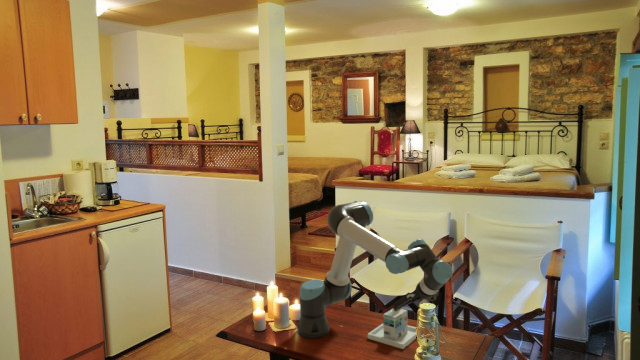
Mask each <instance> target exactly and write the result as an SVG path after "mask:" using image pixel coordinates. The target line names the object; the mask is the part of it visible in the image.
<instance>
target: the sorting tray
mask: <svg viewBox="0 0 640 360" xmlns="http://www.w3.org/2000/svg"><path fill="white" fill-rule="evenodd" d="M416 328H417V326H412V325H408V332H407V333H406V334H404V335H403V336H401V337H400V338H398V339H397V340H393V339H390V338H387V337H384V329H383V323H381V324H380V325H378V326H377V327H375V328H374V329H372V330H371V331H370V332H368V333H367V340H368V339H369V340H372V341H375V342H378V343H381V344H385V345H388V346H392V347H394V348H398V349H400V350H404V349H405V348H407V347H408V346H409V345H410V344H412V343H413V342H414V341H415V340H416V339H417V338H416ZM406 346H407V347H406Z"/></svg>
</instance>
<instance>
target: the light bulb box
mask: <svg viewBox="0 0 640 360" xmlns="http://www.w3.org/2000/svg"><path fill="white" fill-rule="evenodd" d="M392 309H393V308H391V309H390V310H388V311H386V312H384V313H382V315H383V318H382V319H383V320H382V321H383V323H382V324H383V329H384V337H387V338H390V339H393V340H397V339H398V338H400V337H401V336H403V335H404V334H406V333H407V332H408V324H409V322H408V310H407V309H404V308H402V309H401V310H400V311H399V313H398V314H397V315H395V316H394V313H393V311H392Z"/></svg>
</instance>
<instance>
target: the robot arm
mask: <svg viewBox="0 0 640 360" xmlns="http://www.w3.org/2000/svg"><path fill="white" fill-rule="evenodd" d="M326 220H327V226H328V228H329V229H330V230H331V231H332V232H333V234H335V236H338V237H339V239H338V241H337V245H336V248H335V253H334V257H333V260H332V263H331V267H330V270H329V271H327V272H326V274H325V277H324V280H321V279H310V280H306V281H305V282H303V283H302V284H301V285H300V286H299V293H298V294H299V306H300V307H299V311H300V317H299V320H298V324H297V326H296V327H297V328H296V329H297V332H296V333H297V334H298V335H299V336H300V337H302V338H306V339H318V338H323V337H325V336H327V335H328V334H329V333H330V323H329V322H328V319H327V316H326V307H328V306H331V305H334V304H337V303H339V302H343V301H345V300H346V299H348V298H349V297H350V295H351V293H352V290H353V286H352V282H351V280H350V277H349V273H350V268H351V267H352V262H353V259H354V255H355V252H356V249H357V246H358V247H360V248H362V249H363V250H365V252H368V253H369V254H370V255H373V256H374V257H376V258H377V259H379V260H381V261H382V262H383V263H384V264H385V268H386V269H387V270H388V272H389V273H391V274H393V275H398V274H402V273H403V274H404V273H405V272H407V271H410V270H413V269H416V268H420V269H421V270H422V272H423V273H424V274H425V275H424V276H423V277H422V279H420V281H419V282H418V283H417V284H416V286H415V290H414V292H412V293H411V292H407V293H406V294H405V295H403V296H402V297H401V298H399V299H397V300H395V302H393V303H392V306H393V308H391V309H392V311H393V313H394V316H395V315H397V314H398V313H399V311H400V310H401V309H403V308H404V307H406V306H407V305H410V304H412V303H416V302H418V301H420V302H419V304H418V305H419V306H420V304H423V303H429V304H430V303H431V304H433V301H437V295H438V291H439V290H440V289H441V288H442V287H443V286H444V285H445V284H446V283H448V282H449V280H450V279H451V277H452V276H453V268H452V266H451V264H450V263H448V262H446V261H445V260H439V258H438V257H437V255H436V254H435V253H434V252H433V250H432V249H431V248H430V245H428V243H427V242H426V241H425V240H424V239H423V238H418V239H415V240H414V241H412V242H411V243H410V244H409V245H408V246H407V249H405V250H404V249H403V250H402V249H401V248H399V247H397V246H395V245H394V244H392V243H390V242H389V241H387V240H386V239H384V238H382V237H381V236H379V235H378V234H376V233H374V232H372V231H370V230H368V229H367V228H366V227H367V226H370V225H371V224H372V223H373V221H374V212H373V210H372V207H371V206H370V205H369V204H368V203H367V202H365V201H363V200H358V201H355V200H354V201H353V202H348V203H343V204H342V203H341V204H337V205H335V206H333V207H332V208H331V209H330V210H329V211H328V214H327V218H326ZM431 304H430V305H431Z"/></svg>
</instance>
